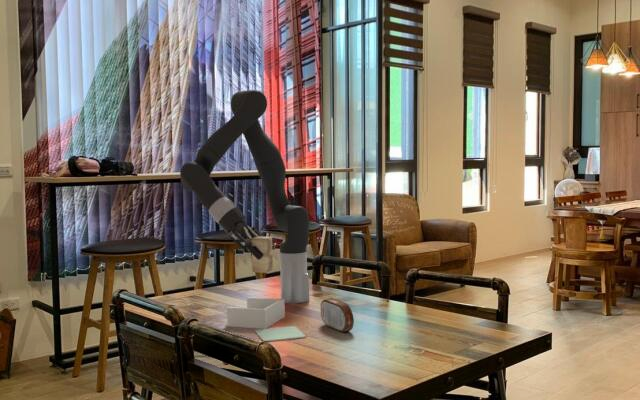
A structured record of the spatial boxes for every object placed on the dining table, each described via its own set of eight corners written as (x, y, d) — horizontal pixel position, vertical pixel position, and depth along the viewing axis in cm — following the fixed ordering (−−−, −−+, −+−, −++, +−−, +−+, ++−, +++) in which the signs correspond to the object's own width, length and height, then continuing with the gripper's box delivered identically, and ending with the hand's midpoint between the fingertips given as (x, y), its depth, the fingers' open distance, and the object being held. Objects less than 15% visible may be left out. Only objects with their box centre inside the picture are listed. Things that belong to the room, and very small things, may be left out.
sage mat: (294, 327, 198) (294, 325, 198) (305, 337, 186) (305, 336, 186) (254, 331, 194) (254, 329, 194) (263, 342, 183) (263, 340, 183)
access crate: (225, 327, 201) (225, 307, 200) (247, 315, 215) (246, 296, 215) (265, 330, 197) (265, 309, 196) (284, 317, 211) (284, 299, 210)
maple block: (259, 269, 201) (258, 236, 200) (272, 270, 200) (272, 236, 199) (252, 272, 197) (251, 238, 196) (266, 272, 195) (265, 238, 195)
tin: (354, 333, 189) (354, 304, 189) (345, 335, 188) (344, 305, 187) (328, 322, 202) (327, 295, 202) (319, 324, 201) (318, 296, 200)
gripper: (223, 208, 193) (262, 251, 190) (245, 204, 207) (282, 244, 203) (207, 226, 195) (246, 268, 192) (230, 221, 209) (267, 261, 205)
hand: (264, 256), depth 198 cm, fingers closed on maple block, 4 cm apart
